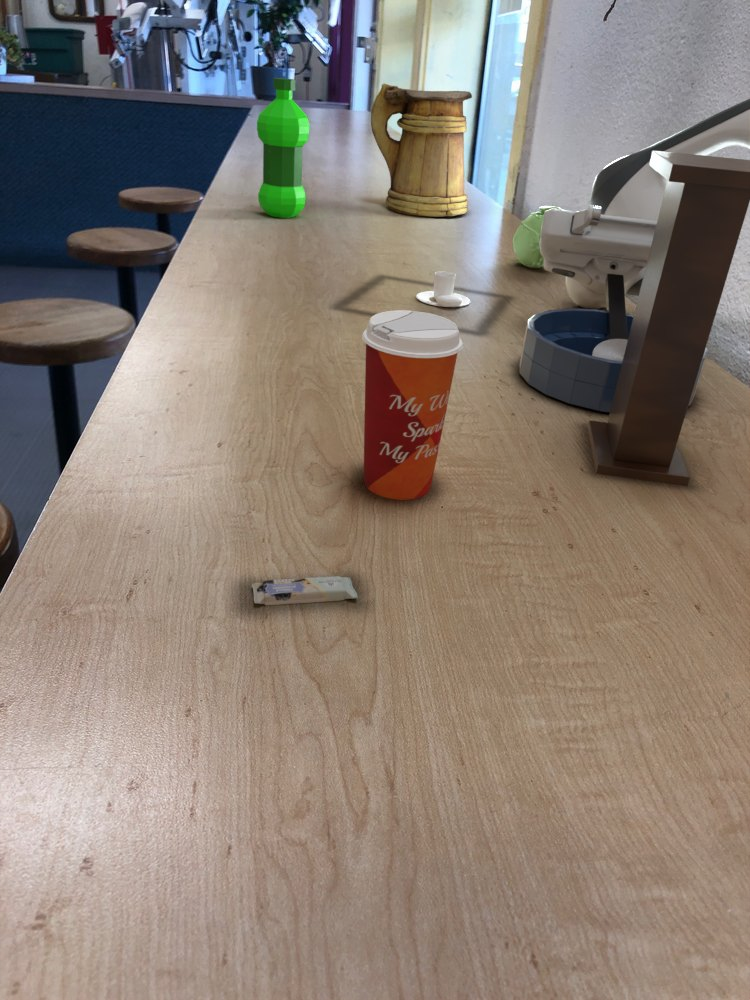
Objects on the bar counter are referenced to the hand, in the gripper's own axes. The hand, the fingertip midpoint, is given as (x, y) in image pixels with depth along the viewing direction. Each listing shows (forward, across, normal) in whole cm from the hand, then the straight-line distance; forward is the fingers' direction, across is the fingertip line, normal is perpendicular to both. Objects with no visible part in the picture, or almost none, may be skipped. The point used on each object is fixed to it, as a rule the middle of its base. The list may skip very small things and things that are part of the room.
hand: (636, 217), depth 90 cm
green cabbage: (-47, +8, +7) cm, 48 cm away
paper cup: (+27, +20, -35) cm, 49 cm away
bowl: (0, +1, -20) cm, 20 cm away
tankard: (-88, +34, +29) cm, 98 cm away
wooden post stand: (+16, 0, -29) cm, 33 cm away
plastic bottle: (-66, +59, +16) cm, 90 cm away
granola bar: (+42, +24, -43) cm, 65 cm away
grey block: (-2, 0, -13) cm, 14 cm away
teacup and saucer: (-21, +24, -8) cm, 33 cm away
